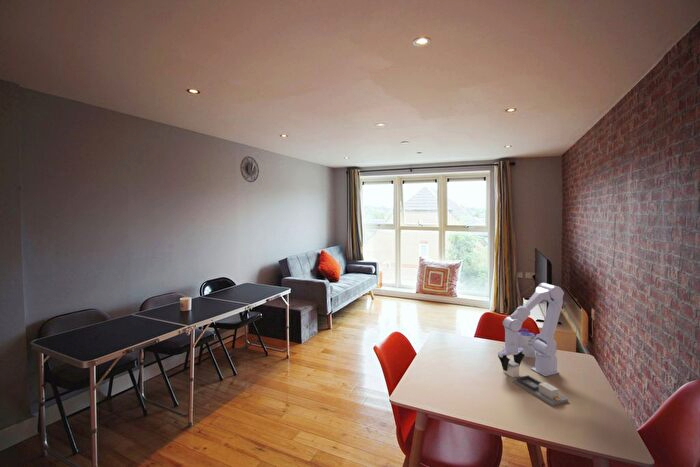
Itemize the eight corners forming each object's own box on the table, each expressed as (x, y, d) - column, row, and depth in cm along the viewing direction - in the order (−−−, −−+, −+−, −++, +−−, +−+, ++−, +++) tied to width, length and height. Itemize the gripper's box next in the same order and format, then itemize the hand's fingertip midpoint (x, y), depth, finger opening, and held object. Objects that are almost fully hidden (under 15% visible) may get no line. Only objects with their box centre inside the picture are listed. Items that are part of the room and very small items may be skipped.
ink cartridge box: (533, 354, 176) (534, 328, 175) (535, 358, 171) (536, 332, 170) (513, 351, 179) (514, 327, 179) (515, 356, 174) (516, 330, 173)
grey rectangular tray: (526, 378, 150) (526, 369, 150) (568, 401, 132) (568, 391, 131) (512, 382, 147) (512, 372, 147) (552, 406, 129) (553, 395, 128)
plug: (509, 370, 158) (509, 359, 158) (519, 376, 153) (519, 364, 152) (502, 371, 157) (503, 360, 157) (512, 377, 151) (513, 365, 151)
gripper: (515, 336, 160) (515, 362, 161) (493, 340, 155) (493, 367, 156) (527, 342, 154) (527, 369, 154) (505, 346, 149) (504, 374, 149)
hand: (510, 368), depth 155 cm, fingers open, 7 cm apart
